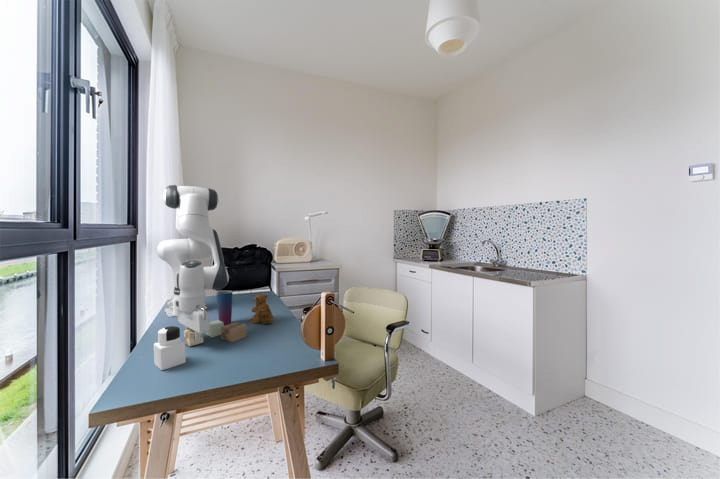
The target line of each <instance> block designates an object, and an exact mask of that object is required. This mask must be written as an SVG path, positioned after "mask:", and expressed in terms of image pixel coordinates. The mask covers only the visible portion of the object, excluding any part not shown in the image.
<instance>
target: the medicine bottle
mask: <svg viewBox="0 0 720 479" xmlns="http://www.w3.org/2000/svg"><path fill="white" fill-rule="evenodd" d="M180 331H181V329H180V327H178V326H173V325H172V326H171V325H170V326H166V327H163V328H161V329H159V330H158V332H157V342H154V343H153V361H154V362H153V364H154V365H155V366H156V367H157V368H158V369H159V370H160V371H164V370H168V369H171V368H174V367H177V366H179V365H183V364H185V363H186V358H187V357H186V344H185V342H184V340H182V339H181V332H180Z"/></svg>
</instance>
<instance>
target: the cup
mask: <svg viewBox="0 0 720 479" xmlns="http://www.w3.org/2000/svg"><path fill="white" fill-rule="evenodd" d="M233 292H234V291H232V290H219V291H217V292H216V293H215V294H216V302H217V314H218V320H219V321H221V322H224V326H225V325H229V324H232V314H233V313H232V311H233V310H232V309H233Z"/></svg>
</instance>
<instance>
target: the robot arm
mask: <svg viewBox="0 0 720 479" xmlns="http://www.w3.org/2000/svg"><path fill="white" fill-rule="evenodd" d="M162 198H163V202H164V203H165V204H164V205H165V206H167V207H168V208H171V209H174V210H175V209H176V210H175V212H176V213H175V230H176V231H177V232H178V233H179V234H180V235H182V236H185V237H187V238H170V239H165V240H161V241H160V242H159V243H158V244H157V247H156V254H157V257H159V259H160V260H162V261H164V262H165V263H167V264H168V265H169V266H170V267H171V269H172V271H173V274H174V283H175V284H174V289H173V295H172V296H171V298H170V299H169V300H168V301H167V302H166V306H167V307H166V308H164V310H163V311H164V312H166V313H165V315H167V317H169V318H171V317H177V320H178V323H179V324H181V325H183V326H184V328H185V330H188V329H192V330H194V331H195V336H194V341H196V342H197V341H200V340H201V334H202V333H203V334H204V333H206V332H208V331H209V329H210V326H209V322H210V319H209V313H208V312H207V309H208V306H206V304H207V303H206V299H207V298H206V290H207V291H208V290H210V291H211V290H212V291H215V290H216V291H222V290H223V289H224V288H225V287H226V286H227V285H228V284H229V279H230V276H229V273H228V269H227V267H226V264H225V260H224V255H223V251H222V245H221V242H220V238H219V235H218V232H217V230H215V229H214V228H212V226H211V225H210V222H209V211H213V210H215V209H217V206H218V205H219V195H218V193H217V191H216V190H215V189H212V188H209V187H207V188H205V187H202V186H193V185H192V186H190V185H176V184H171V185H170V184H169V185H167V186H166V187H165V189H164V191H163V193H162ZM211 256H212V259H213V263H214V264H213V265H212V266H204V264H203V262H201V261H199V260H200V259H201V260H202V259H206V258H210V257H211Z"/></svg>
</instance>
